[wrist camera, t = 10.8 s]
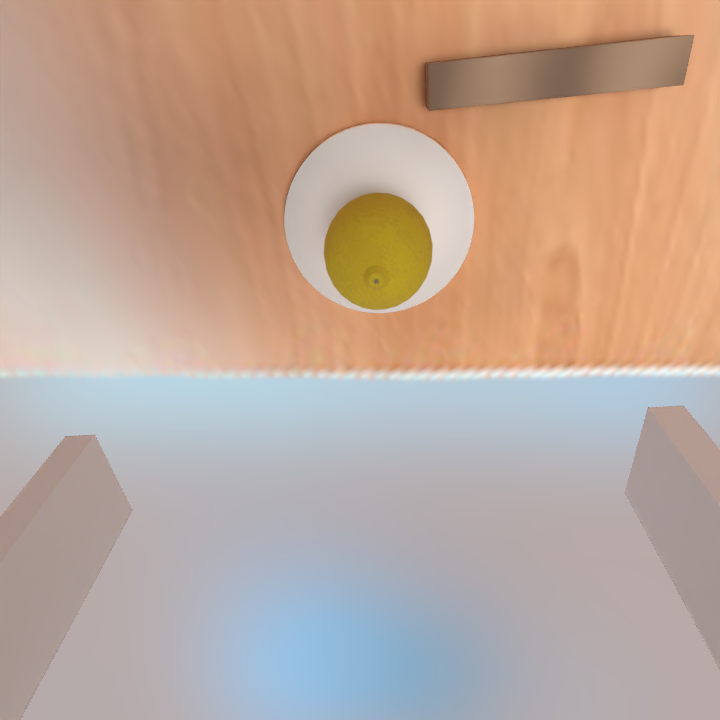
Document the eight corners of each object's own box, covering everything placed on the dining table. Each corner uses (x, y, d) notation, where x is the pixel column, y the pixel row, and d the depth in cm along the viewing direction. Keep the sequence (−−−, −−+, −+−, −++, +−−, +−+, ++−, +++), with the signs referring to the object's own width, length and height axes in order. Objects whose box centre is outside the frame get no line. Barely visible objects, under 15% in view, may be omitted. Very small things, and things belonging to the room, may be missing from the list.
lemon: (312, 221, 29) (288, 272, 22) (386, 156, 27) (386, 191, 20) (373, 289, 31) (368, 356, 24) (446, 234, 29) (464, 289, 22)
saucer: (302, 311, 33) (300, 318, 32) (271, 132, 27) (267, 135, 27) (469, 300, 32) (471, 307, 31) (474, 112, 26) (477, 114, 26)
